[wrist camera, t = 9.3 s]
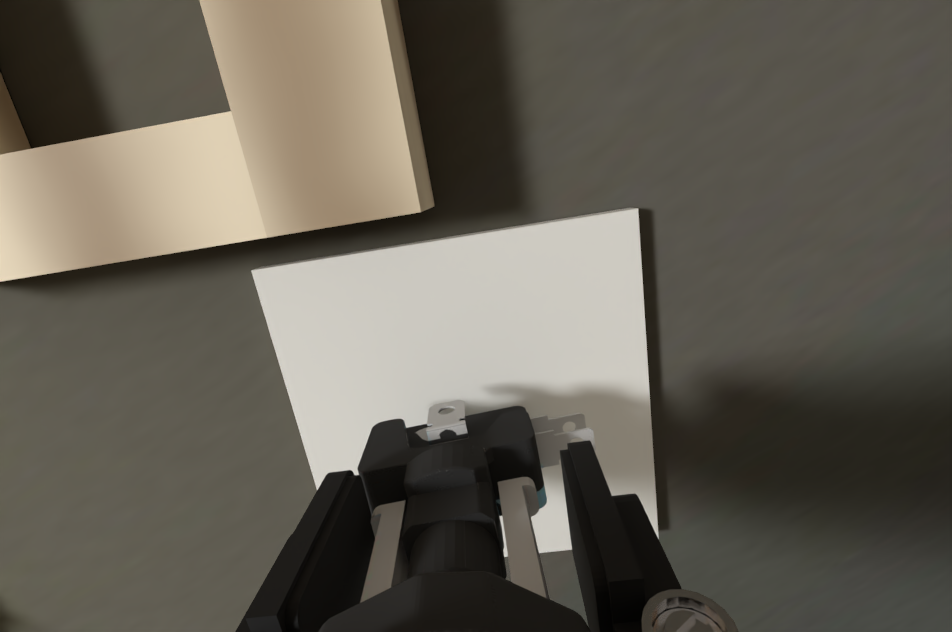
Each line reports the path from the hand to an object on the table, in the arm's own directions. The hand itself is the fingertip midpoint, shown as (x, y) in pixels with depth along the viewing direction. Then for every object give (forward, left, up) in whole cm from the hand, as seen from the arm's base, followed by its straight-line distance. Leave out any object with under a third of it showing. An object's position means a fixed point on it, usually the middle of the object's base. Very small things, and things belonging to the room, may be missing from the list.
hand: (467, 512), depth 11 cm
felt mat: (0, 0, -5) cm, 5 cm away
